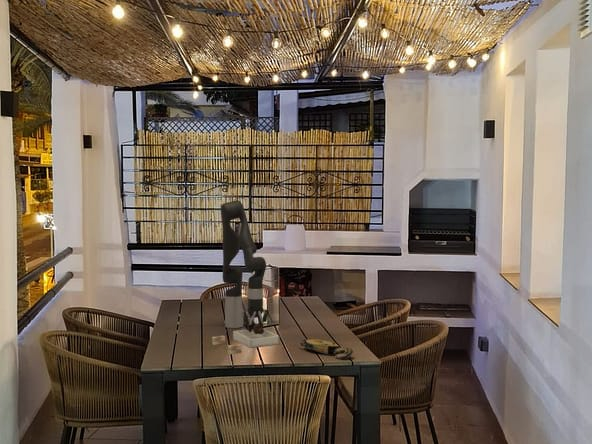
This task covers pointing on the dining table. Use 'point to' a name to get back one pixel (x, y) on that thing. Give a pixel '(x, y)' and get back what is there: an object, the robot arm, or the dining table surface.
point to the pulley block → (327, 348)
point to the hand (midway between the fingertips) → (255, 331)
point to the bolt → (255, 328)
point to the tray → (255, 338)
